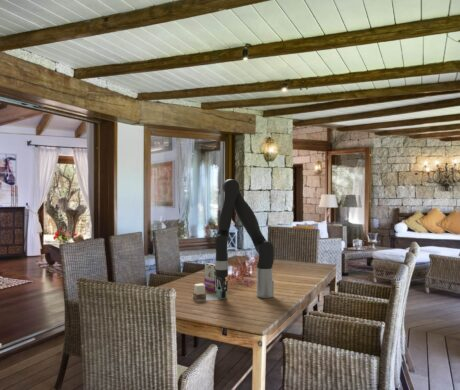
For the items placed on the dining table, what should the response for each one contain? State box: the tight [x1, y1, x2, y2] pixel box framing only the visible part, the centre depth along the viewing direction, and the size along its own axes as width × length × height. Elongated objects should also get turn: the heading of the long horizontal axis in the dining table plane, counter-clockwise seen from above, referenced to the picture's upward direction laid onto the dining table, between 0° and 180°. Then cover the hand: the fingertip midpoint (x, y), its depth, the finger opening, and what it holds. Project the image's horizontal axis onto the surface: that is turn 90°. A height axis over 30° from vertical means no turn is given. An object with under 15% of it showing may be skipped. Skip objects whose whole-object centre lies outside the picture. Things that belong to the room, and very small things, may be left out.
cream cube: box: [193, 282, 206, 295], centre depth 232 cm, size 5×5×5 cm
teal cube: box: [216, 289, 228, 300], centre depth 234 cm, size 4×4×4 cm
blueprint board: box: [191, 292, 226, 302], centre depth 234 cm, size 18×13×1 cm
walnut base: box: [192, 292, 207, 300], centre depth 232 cm, size 6×6×3 cm
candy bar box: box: [203, 262, 217, 292], centre depth 254 cm, size 11×5×16 cm, turn 40°
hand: (221, 296), depth 234 cm, fingers open, 6 cm apart
